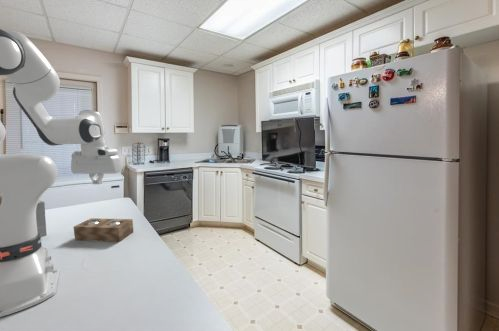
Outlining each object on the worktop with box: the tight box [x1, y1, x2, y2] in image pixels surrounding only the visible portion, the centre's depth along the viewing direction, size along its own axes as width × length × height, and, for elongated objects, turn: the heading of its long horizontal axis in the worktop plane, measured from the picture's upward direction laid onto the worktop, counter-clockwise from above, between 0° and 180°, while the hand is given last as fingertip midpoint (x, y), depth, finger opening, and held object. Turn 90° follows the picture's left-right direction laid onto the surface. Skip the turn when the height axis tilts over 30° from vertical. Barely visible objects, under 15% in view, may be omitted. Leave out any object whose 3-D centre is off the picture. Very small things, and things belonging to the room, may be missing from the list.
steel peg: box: [88, 221, 99, 225], centre depth 110 cm, size 4×4×6 cm
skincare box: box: [36, 199, 48, 238], centre depth 110 cm, size 8×7×16 cm
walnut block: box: [73, 217, 134, 243], centre depth 109 cm, size 20×10×6 cm, turn 84°
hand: (97, 184), depth 106 cm, fingers closed
